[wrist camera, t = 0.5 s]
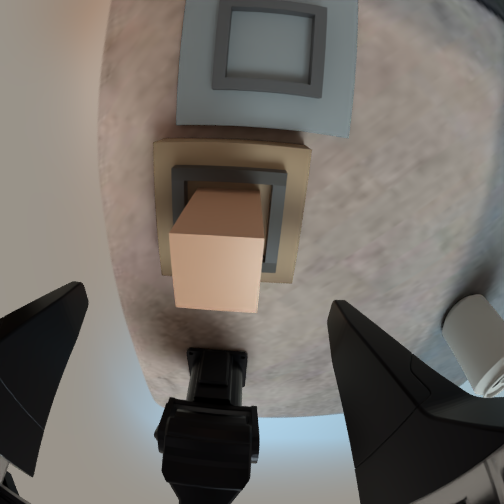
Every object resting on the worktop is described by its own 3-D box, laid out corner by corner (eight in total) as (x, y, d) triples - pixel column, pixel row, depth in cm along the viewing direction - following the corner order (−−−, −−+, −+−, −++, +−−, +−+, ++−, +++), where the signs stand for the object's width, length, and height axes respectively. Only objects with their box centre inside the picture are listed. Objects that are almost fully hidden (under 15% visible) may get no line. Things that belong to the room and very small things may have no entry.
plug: (255, 246, 20) (256, 312, 13) (198, 242, 19) (175, 306, 13) (259, 190, 18) (264, 238, 11) (197, 187, 17) (168, 233, 11)
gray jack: (346, 137, 18) (353, 140, 17) (178, 124, 18) (172, 126, 16) (355, -3, 12) (362, -10, 11) (191, -19, 12) (186, -27, 11)
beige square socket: (288, 266, 23) (293, 291, 20) (169, 259, 23) (158, 282, 20) (304, 145, 18) (315, 151, 15) (164, 138, 18) (148, 144, 15)
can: (461, 285, 25) (517, 358, 14) (489, 294, 26) (537, 355, 15) (429, 333, 28) (468, 409, 18) (460, 337, 29) (497, 400, 19)
